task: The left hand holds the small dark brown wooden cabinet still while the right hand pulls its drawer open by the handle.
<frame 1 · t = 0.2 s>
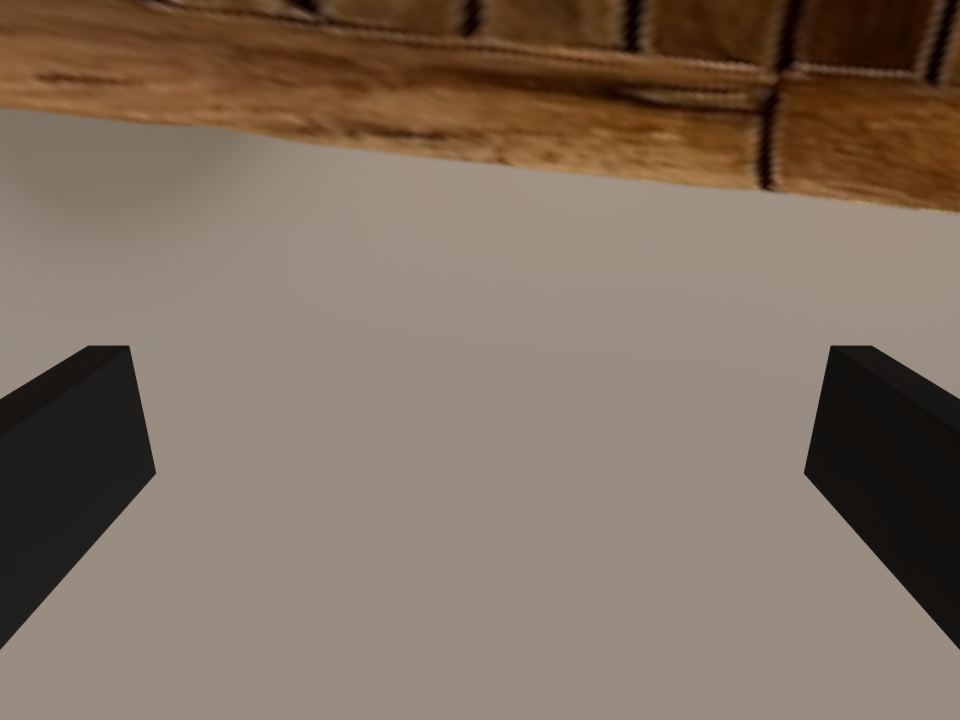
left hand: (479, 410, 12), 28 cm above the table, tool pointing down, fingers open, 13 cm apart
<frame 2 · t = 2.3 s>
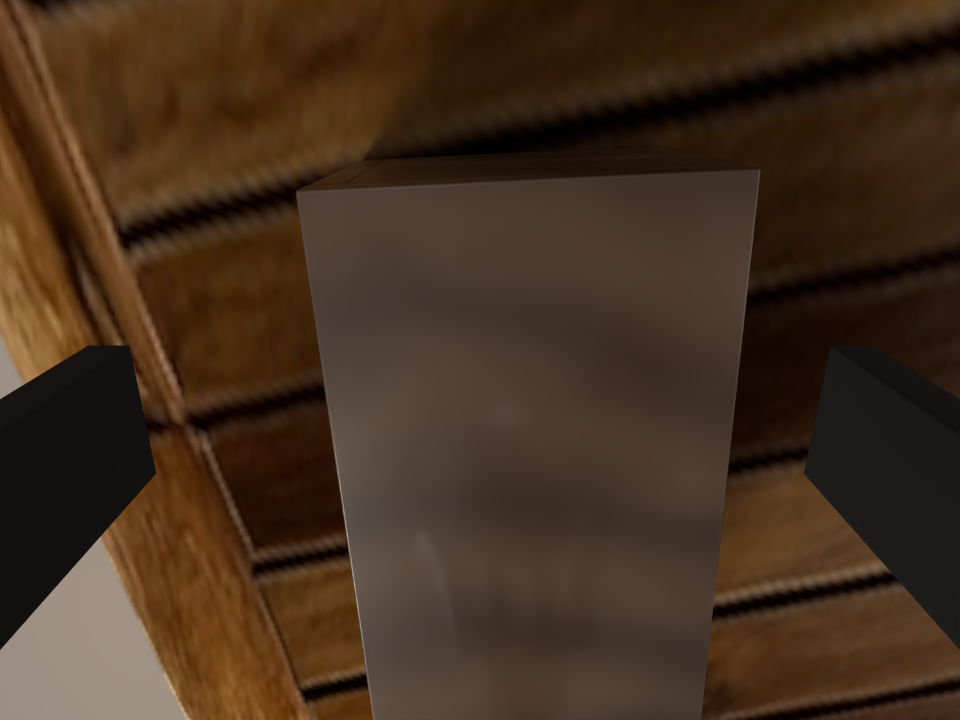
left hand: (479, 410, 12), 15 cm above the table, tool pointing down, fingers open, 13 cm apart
cabinet: (516, 391, 29), on the table
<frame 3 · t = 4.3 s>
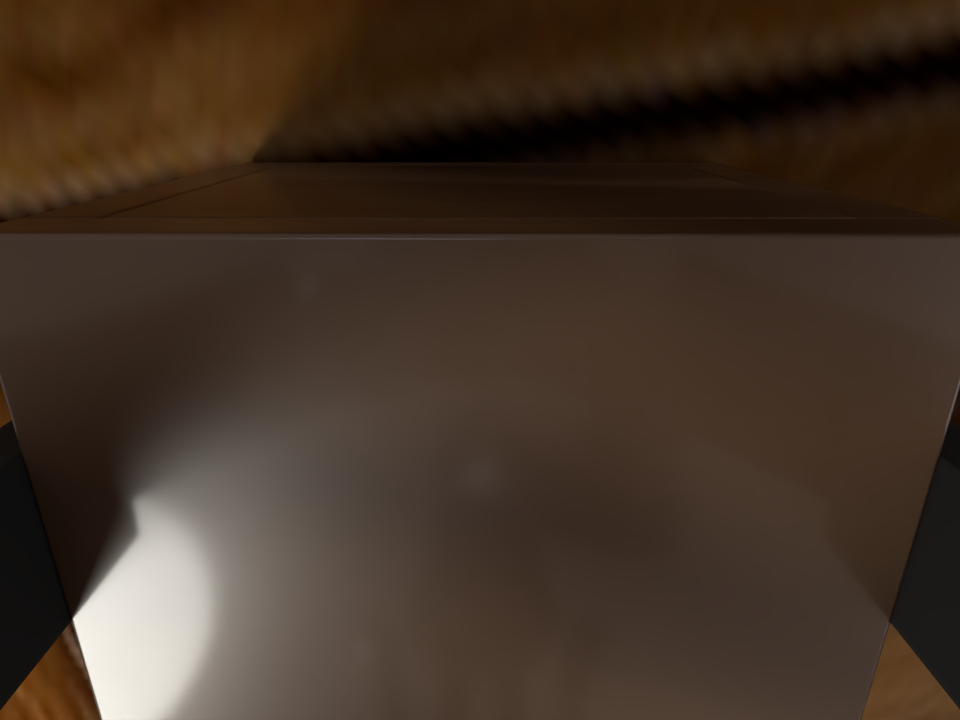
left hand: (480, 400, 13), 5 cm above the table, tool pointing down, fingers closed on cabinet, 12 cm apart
cabinet: (480, 507, 20), on the table, touching left hand
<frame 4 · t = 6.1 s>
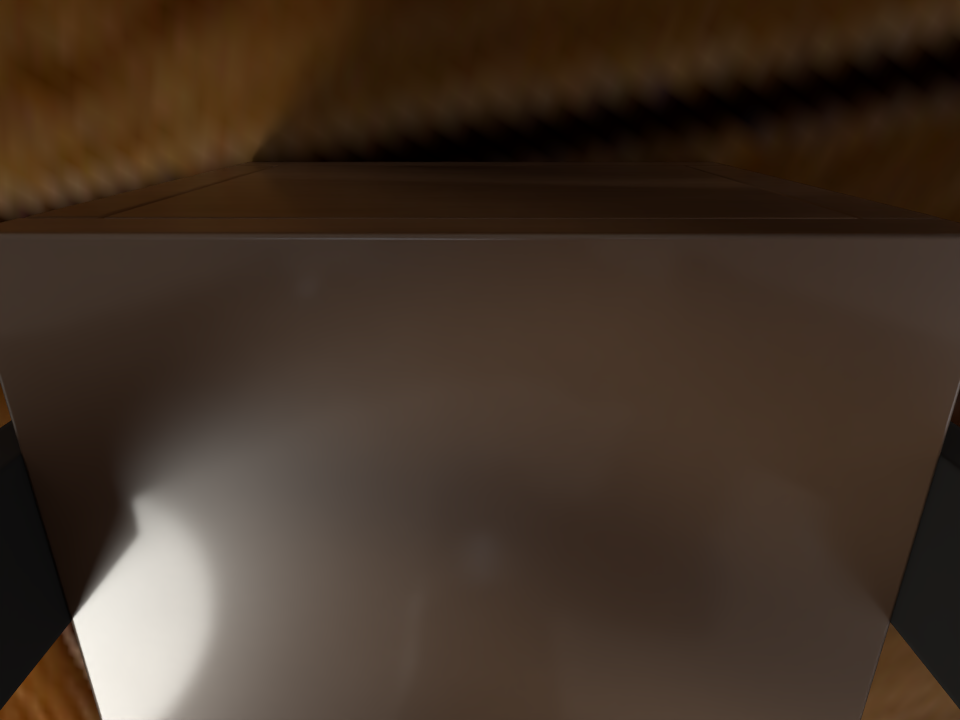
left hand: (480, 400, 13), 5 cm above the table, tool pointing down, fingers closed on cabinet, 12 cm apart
cabinet: (480, 506, 20), on the table, touching left hand
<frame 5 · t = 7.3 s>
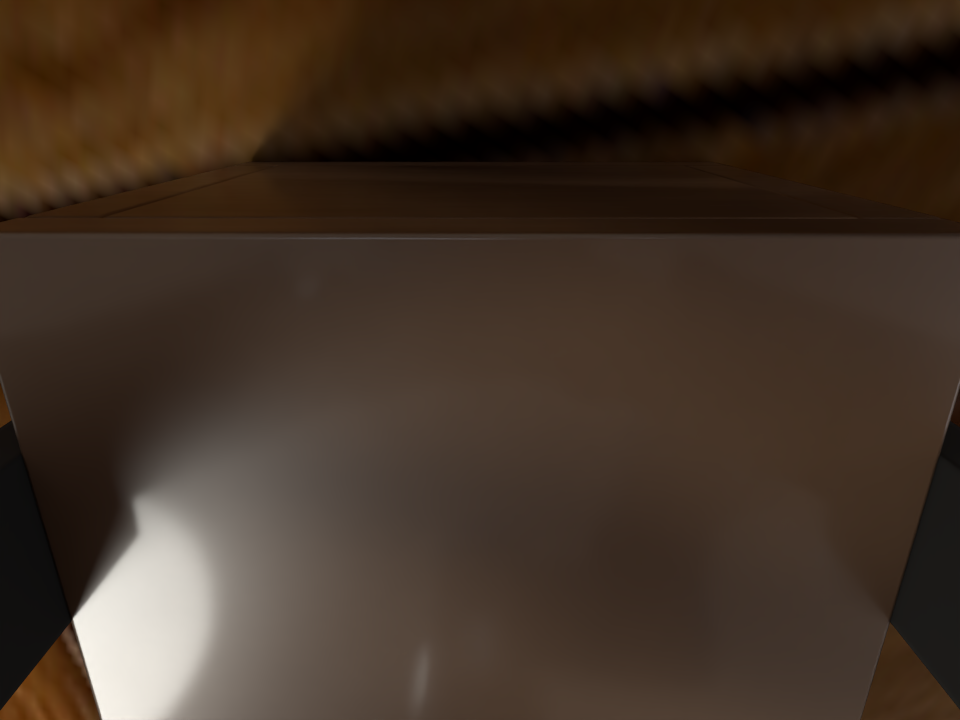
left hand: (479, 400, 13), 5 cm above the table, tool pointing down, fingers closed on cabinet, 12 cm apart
cabinet: (480, 506, 20), on the table, touching left hand
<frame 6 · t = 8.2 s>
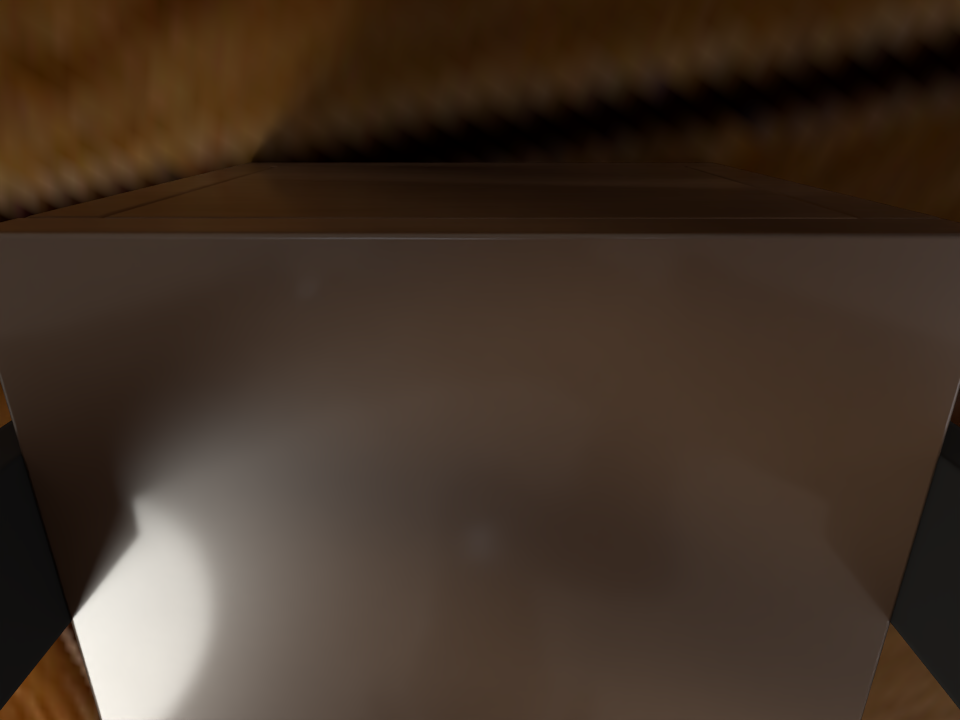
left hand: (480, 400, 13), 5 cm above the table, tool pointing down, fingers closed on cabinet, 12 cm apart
cabinet: (480, 507, 20), on the table, touching left hand
when the left hand's fingers open (5 cm above the table, at t = 8.9 s): cabinet stays where it is, on the table.
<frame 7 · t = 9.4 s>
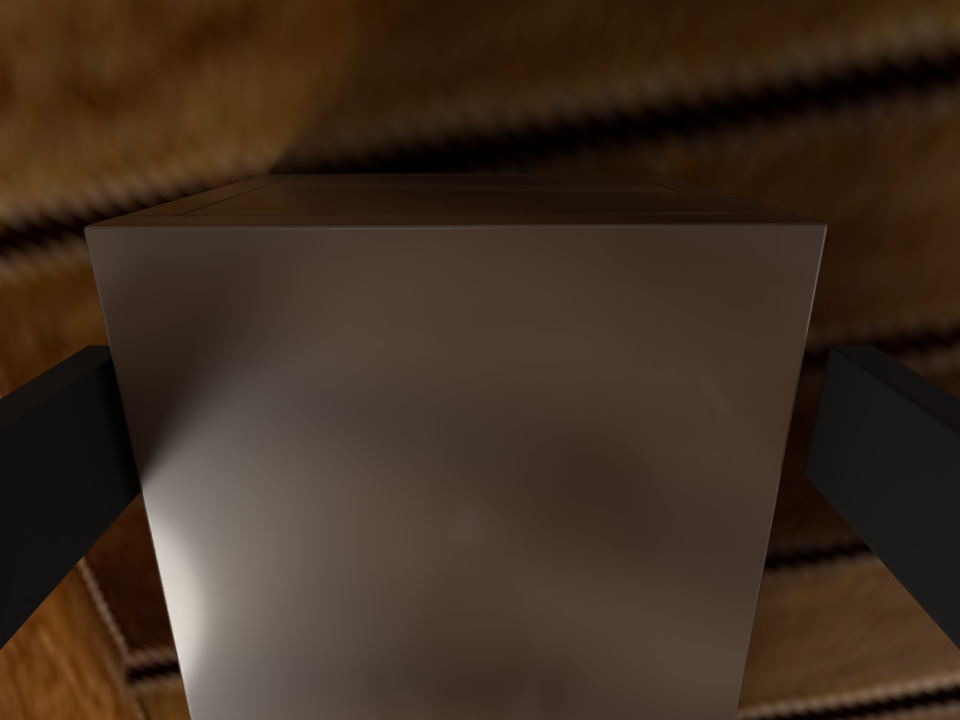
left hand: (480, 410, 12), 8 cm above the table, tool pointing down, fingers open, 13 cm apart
cabinet: (466, 473, 23), on the table
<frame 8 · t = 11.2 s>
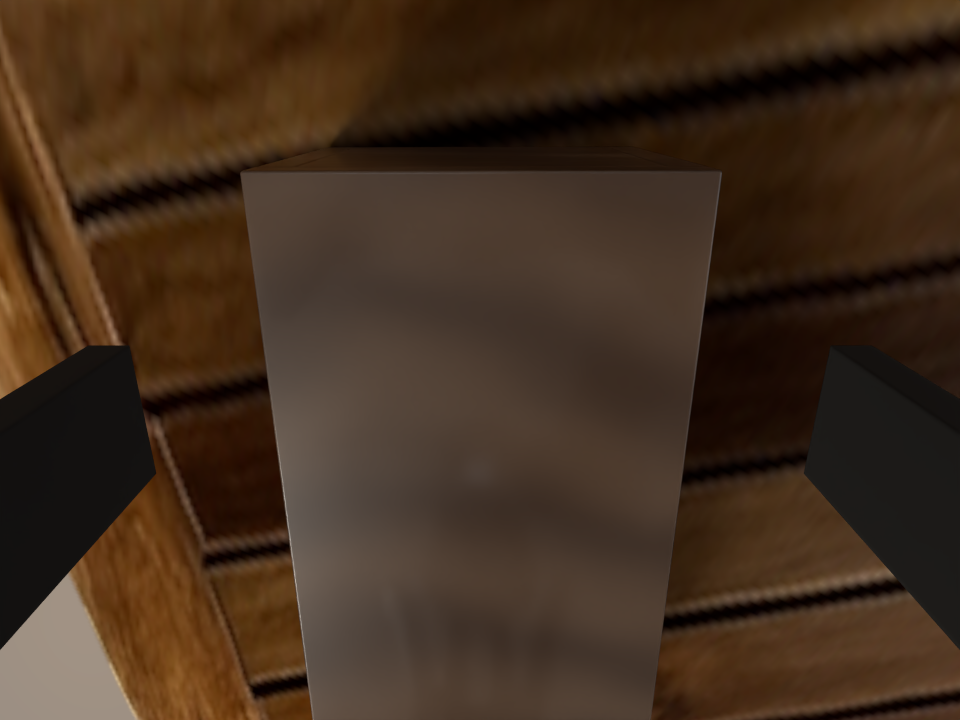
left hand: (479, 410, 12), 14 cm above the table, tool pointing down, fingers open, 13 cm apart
cabinet: (480, 391, 28), on the table
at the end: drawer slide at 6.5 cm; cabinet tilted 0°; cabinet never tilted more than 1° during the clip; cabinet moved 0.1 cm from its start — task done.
